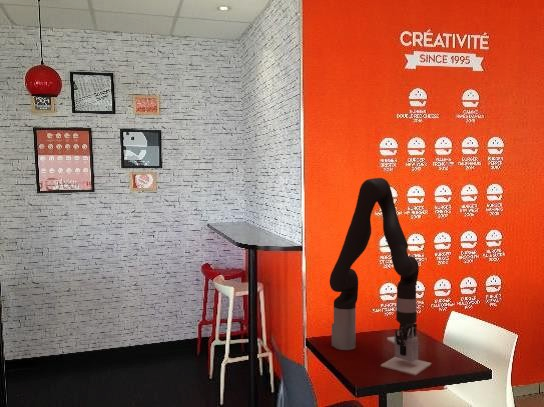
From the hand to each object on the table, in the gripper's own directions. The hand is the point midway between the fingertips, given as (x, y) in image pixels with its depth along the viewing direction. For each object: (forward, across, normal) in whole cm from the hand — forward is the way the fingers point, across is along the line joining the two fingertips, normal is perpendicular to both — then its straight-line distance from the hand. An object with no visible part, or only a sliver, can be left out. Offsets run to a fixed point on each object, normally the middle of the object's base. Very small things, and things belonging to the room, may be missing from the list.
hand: (406, 353), depth 190 cm
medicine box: (+2, 0, 0) cm, 2 cm away
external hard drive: (+5, +23, +13) cm, 27 cm away
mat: (+5, 0, 0) cm, 5 cm away
